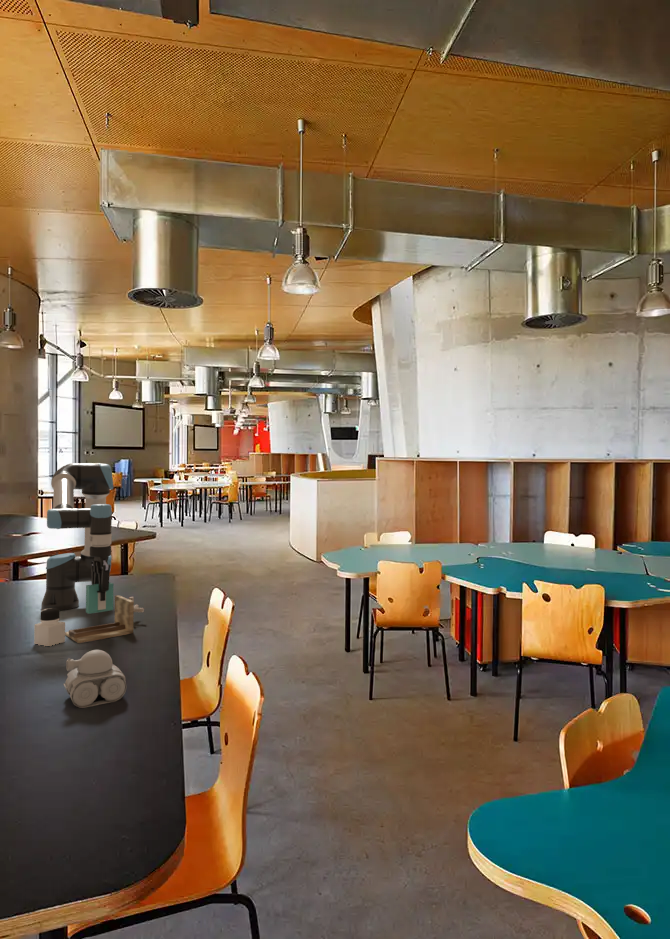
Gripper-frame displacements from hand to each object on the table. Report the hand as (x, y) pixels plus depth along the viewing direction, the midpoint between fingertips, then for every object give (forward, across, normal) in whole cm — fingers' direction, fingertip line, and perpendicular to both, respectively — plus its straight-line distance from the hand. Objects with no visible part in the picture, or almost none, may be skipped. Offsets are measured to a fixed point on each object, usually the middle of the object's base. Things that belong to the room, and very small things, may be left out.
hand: (99, 608), depth 217 cm
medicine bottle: (+10, 0, -17) cm, 20 cm away
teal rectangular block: (+1, 0, 0) cm, 1 cm away
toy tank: (+11, +60, -24) cm, 66 cm away
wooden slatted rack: (+10, 0, 0) cm, 10 cm away
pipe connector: (+10, -9, +16) cm, 21 cm away
